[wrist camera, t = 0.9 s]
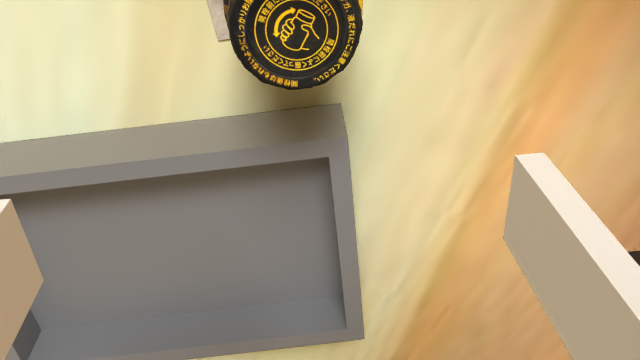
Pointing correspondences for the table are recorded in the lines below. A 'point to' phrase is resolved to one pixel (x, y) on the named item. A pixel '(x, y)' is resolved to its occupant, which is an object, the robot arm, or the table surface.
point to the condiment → (290, 37)
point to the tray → (188, 237)
